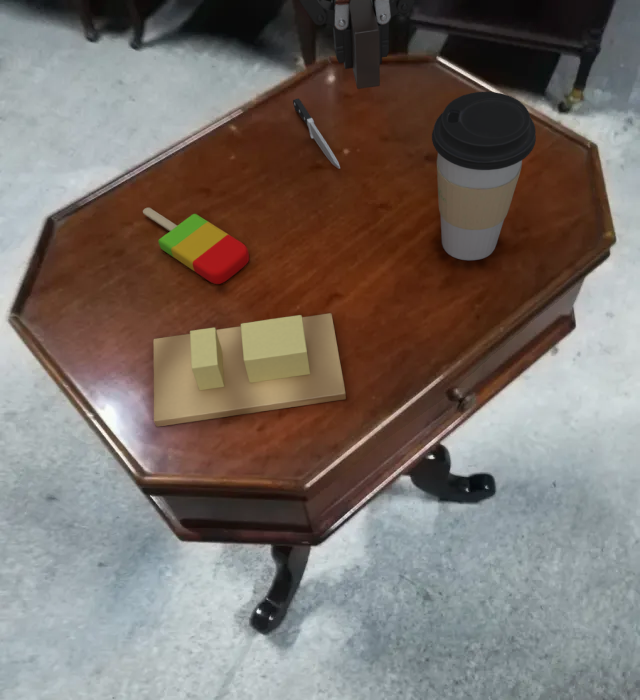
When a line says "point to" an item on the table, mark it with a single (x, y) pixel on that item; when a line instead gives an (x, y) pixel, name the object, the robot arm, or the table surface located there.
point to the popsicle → (202, 247)
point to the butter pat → (206, 358)
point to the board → (243, 378)
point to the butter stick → (274, 349)
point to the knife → (315, 132)
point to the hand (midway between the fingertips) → (362, 61)
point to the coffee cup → (479, 168)
